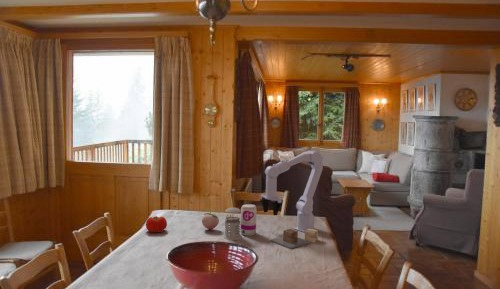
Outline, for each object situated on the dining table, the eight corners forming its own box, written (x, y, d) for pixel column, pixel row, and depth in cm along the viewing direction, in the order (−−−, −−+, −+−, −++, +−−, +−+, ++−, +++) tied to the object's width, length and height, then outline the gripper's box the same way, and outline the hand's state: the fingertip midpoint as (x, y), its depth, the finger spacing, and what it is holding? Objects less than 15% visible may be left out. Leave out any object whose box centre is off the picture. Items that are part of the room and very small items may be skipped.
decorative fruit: (198, 231, 200) (198, 212, 200) (205, 227, 208) (206, 209, 207) (213, 233, 197) (214, 214, 196) (220, 229, 205) (221, 211, 204)
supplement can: (254, 236, 193) (255, 208, 192) (238, 235, 195) (239, 206, 194) (257, 232, 201) (258, 204, 200) (242, 230, 203) (242, 203, 202)
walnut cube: (290, 238, 189) (290, 228, 189) (297, 241, 185) (297, 231, 185) (283, 240, 186) (283, 230, 185) (290, 243, 182) (290, 232, 182)
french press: (245, 235, 194) (246, 188, 192) (235, 242, 184) (236, 191, 182) (228, 233, 198) (229, 186, 197) (217, 239, 188) (218, 189, 186)
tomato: (169, 228, 203) (169, 215, 203) (162, 234, 193) (162, 220, 192) (150, 227, 205) (150, 214, 204) (142, 233, 194) (142, 219, 193)
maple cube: (308, 238, 193) (308, 228, 193) (317, 240, 190) (317, 230, 190) (304, 240, 189) (304, 231, 188) (314, 242, 186) (314, 232, 186)
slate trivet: (289, 236, 195) (289, 234, 195) (310, 243, 185) (310, 241, 185) (270, 241, 186) (270, 239, 186) (290, 249, 176) (290, 247, 176)
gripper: (256, 187, 204) (256, 211, 205) (275, 191, 193) (274, 217, 194) (266, 186, 209) (265, 210, 209) (284, 190, 197) (284, 215, 198)
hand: (270, 213), depth 202 cm, fingers open, 7 cm apart
